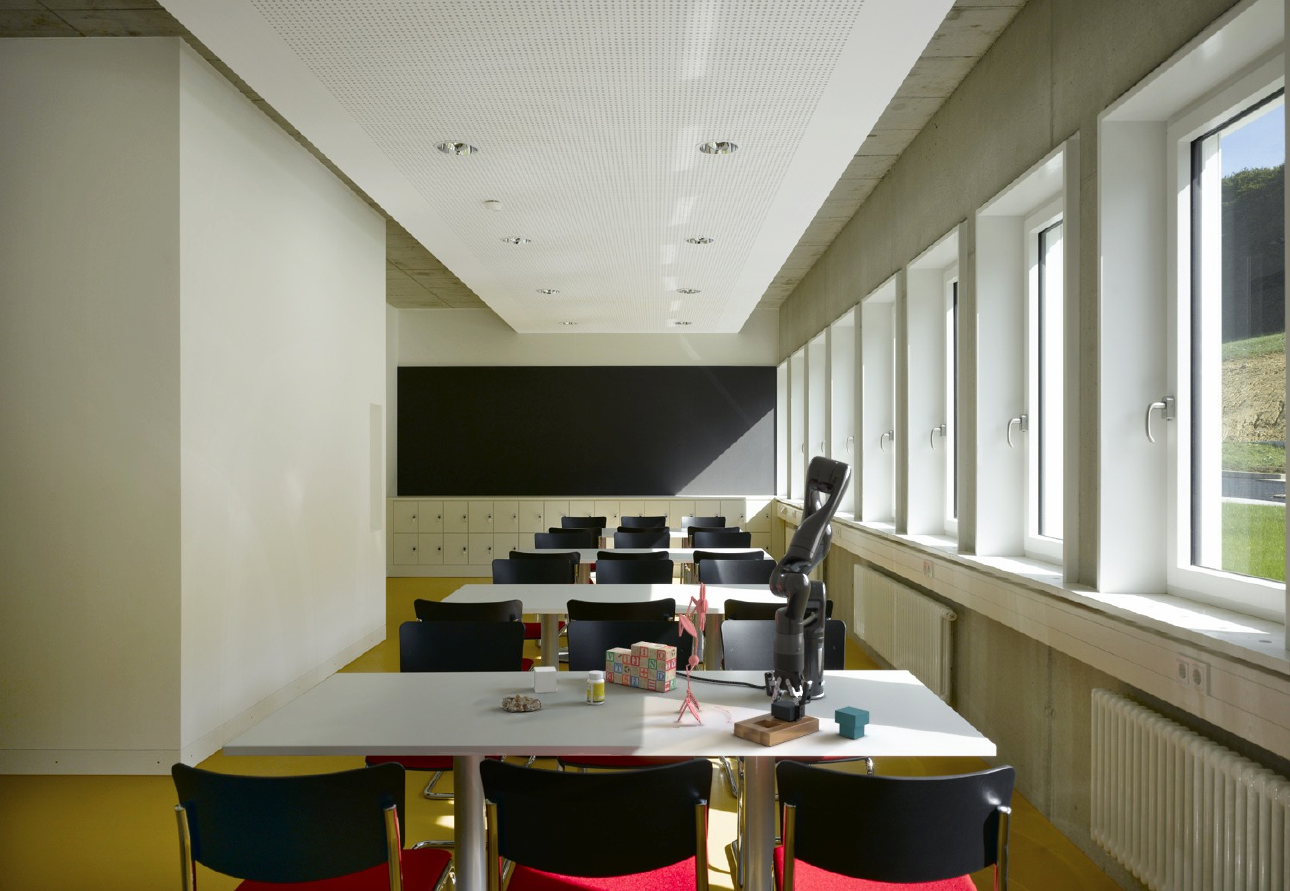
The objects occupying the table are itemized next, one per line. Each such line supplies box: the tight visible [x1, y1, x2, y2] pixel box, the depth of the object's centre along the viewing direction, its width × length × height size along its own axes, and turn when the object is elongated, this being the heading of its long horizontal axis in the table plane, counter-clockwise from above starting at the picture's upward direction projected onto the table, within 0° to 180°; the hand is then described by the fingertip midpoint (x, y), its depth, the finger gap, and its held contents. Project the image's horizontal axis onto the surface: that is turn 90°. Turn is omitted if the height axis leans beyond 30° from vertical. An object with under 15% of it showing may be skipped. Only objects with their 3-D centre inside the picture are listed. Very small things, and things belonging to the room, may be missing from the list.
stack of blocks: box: [605, 641, 677, 693], centre depth 259 cm, size 21×6×12 cm, turn 58°
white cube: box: [533, 666, 558, 694], centre depth 251 cm, size 6×6×6 cm
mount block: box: [733, 712, 820, 747], centre depth 214 cm, size 11×19×3 cm, turn 133°
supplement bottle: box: [586, 670, 605, 706], centre depth 238 cm, size 5×5×8 cm
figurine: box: [674, 582, 732, 729], centre depth 226 cm, size 15×26×35 cm, turn 175°
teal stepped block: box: [834, 705, 870, 740], centre depth 213 cm, size 6×6×6 cm
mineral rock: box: [501, 693, 542, 713], centre depth 231 cm, size 11×4×8 cm
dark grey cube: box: [770, 699, 806, 722], centre depth 217 cm, size 6×6×6 cm
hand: (787, 717), depth 217 cm, fingers closed on dark grey cube, 5 cm apart
